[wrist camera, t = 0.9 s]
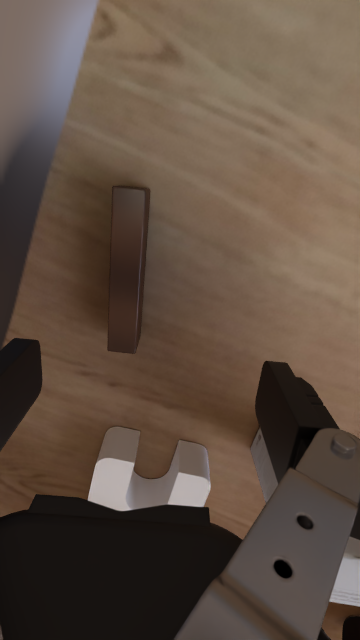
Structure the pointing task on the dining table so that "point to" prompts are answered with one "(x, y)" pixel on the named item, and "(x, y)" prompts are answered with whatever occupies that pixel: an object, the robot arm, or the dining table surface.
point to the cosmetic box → (356, 567)
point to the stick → (127, 266)
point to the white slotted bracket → (137, 492)
